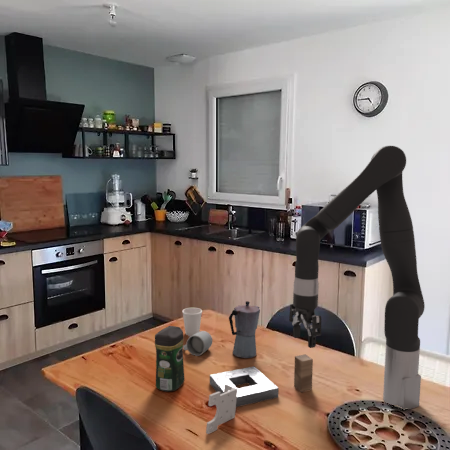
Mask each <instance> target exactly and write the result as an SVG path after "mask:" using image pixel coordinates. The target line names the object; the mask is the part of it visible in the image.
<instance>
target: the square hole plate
mask: <svg viewBox="0 0 450 450" xmlns="http://www.w3.org/2000/svg"><path fill="white" fill-rule="evenodd" d="M225 384H226V385H228V386H231V387H233V388H236V389H237V399H236V408H238V407H243V406H247V405H251V404H255V403H261V402H265V401H268V400H272V399H278V398H279V390H280V389H279V387H278V386H277V385H276V383H274V382H273V381H272V380H270V378H268V377H267V376H266V375H265V374H264V373H262V372H261V371H260V370H259V369H258V368H257V367H256V366H248V367H244V368H239V369H238V368H237V369H233V370H228V371H223V372H218V373H213V374H209V385H210V386H211V387H212V388H213V390H214V391H215V393H216V392H218V391H219V392H221V393H220V394H222V393H224V388H225ZM246 384H248V385H247V386H242V387H240V388H239V387H237V386H241V385H246ZM228 391H230V390H228Z"/></svg>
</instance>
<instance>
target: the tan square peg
mask: <svg viewBox="0 0 450 450" xmlns="http://www.w3.org/2000/svg"><path fill="white" fill-rule="evenodd" d="M313 362H314V360H313V358H311V357H310V356H309V355H308V354H300V355H295V356H294V370H293V371H294V374H293V375H294V378H293V387H294V388H295V389H296V390H298V392H300V393H303V392H304V393H305V392H308V391H312V390H313V372H314V371H313V370H314V369H313V366H314V363H313Z"/></svg>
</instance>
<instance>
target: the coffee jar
mask: <svg viewBox="0 0 450 450" xmlns="http://www.w3.org/2000/svg"><path fill="white" fill-rule="evenodd" d="M183 346H184V331H183V329H182V328H181V327H180V326H174V325H168V326H167V327H164V328H163V329H161V330H159V331H158V332H157V333H155V335H154V347H155V363H156V364H155V387H156V389H158V390H159V391H162V392H174V391H177V389H179V388H180V387H182V385H183V384H184V382H185V367H184V348H183Z"/></svg>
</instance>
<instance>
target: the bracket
mask: <svg viewBox="0 0 450 450" xmlns="http://www.w3.org/2000/svg"><path fill="white" fill-rule="evenodd" d="M228 390H230V391H228ZM220 393H221V392H219V391H218V392H216V391H215V392H213V393H211V394H209V395H208V406H209V407H213V406H215V407H216V412H215V415H214V417H212V419H211V420H210V421H207V422H206V429H205V433H206V434H207V435H209V434H211V433H213V432H215V431H217V430H218V427H219V426H220V425H222V424H225V423H227V422H228V421H230V420H232V419H234V418H235V417H236V411H237V410H236V408H237V407H236V399H237V389H236V388H233V387H231V386H228V385H226V384H225V388H224V393H222V394H220Z"/></svg>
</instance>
